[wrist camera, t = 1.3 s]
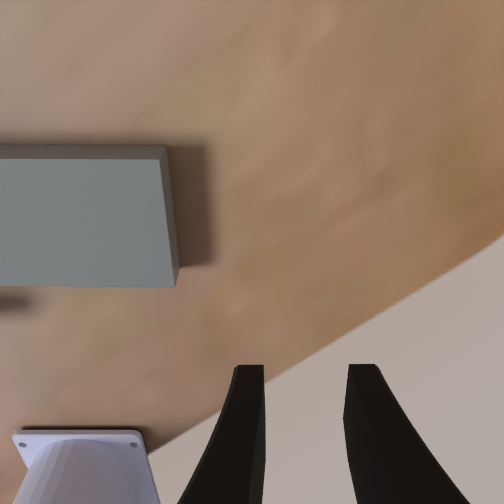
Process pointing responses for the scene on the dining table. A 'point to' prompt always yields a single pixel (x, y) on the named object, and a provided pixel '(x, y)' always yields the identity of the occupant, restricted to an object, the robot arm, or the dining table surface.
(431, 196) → the dining table surface
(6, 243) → the tile
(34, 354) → the dining table surface
